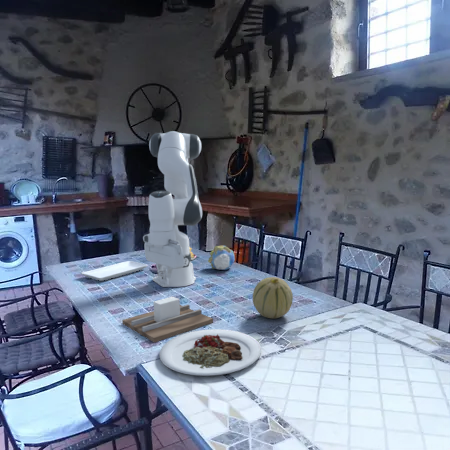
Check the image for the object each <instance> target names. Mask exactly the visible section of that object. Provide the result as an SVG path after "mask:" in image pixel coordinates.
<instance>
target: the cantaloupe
mask: <svg viewBox="0 0 450 450" xmlns="http://www.w3.org/2000/svg"><path fill="white" fill-rule="evenodd" d="M293 297H294V296H293V292H292V289H291V287H290V286H289V284H288V283H287V282H286V281H285V280H284V279H282V278H280V277H278V276H277V277H276V276H271V277H265V278H263V279H262V280H260V281H259V282H257V284H256V285H255V287H254V289H253V292H252V303H253V307H254V308H255V310H256V312H257V313H258V314H260V315H261V316H262V317H265V318H268V319H279V318H281V317H284V316H286V314H287V313H289V311H290V310H291V307H292V305H293V300H294V298H293Z"/></svg>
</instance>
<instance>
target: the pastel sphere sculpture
mask: <svg viewBox="0 0 450 450" xmlns="http://www.w3.org/2000/svg"><path fill="white" fill-rule="evenodd" d="M189 249H190V253H191V261H193V260H195V259H196V258H197V255H196V254H195V253H193V251H192V250H193V248H192V247H191V246H189Z"/></svg>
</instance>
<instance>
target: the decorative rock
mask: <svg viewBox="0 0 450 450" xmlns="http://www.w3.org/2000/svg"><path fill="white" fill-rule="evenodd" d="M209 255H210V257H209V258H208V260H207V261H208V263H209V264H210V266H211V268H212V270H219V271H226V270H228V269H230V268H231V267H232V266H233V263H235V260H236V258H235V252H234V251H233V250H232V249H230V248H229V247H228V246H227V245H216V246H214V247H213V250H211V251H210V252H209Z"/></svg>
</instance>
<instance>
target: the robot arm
mask: <svg viewBox="0 0 450 450" xmlns="http://www.w3.org/2000/svg"><path fill="white" fill-rule="evenodd" d="M150 137H151V138H150V140H149V142H148V143H149V144H148V146H149V151H150V154H151V155H152V157H155V158H157V166H158V169H159V171H160V172H161V173H162V174H163V177H164V178H163V181H164V182H163V183H164V185H163V186H164V189H165V190H156V191H153V192H151V193H150V194H149V196H148V198H149V199H148V220H149V224H150V225H149V233H148V234H144V235H143V237H142V239H143V242H144V246H143V247H144V255H145V259H146V261H148V262H151V263H154V264H155V266H156V268H157V271H156V273H157V274H156V276H155V277H153V278H152V281H153V282H155V283H156V284H158V285H159V286H160V287H162V288H169V287H173V288H177V287H178V288H179V287H186V286H190V285H194V283H195V281H196V280H197V277H196V276H195V272H194V265H193V263H192V262H191V261H192V260H191V253H190V249H189V247H190V239H189V236H188V235H187V234H186V233H184V232H183V231H180V229H179V226H192V227H194V226H196V225H197V224H198V223H199V222H201V220H202V218H203V207H202V204H201V202H200V199H199V192H198V185H197V184H198V183H197V179H196V178H197V177H196V174H195V170H194V167H193V165H192V164H190V163H189V161H193V160H195V159H197V158H198V157H199V156H200V153H201V151H202V141H201V139H200V137H199V136H198V135H197V134H194V133H185V132H183V133H182V132H178V131H173V130H172V131H171V130H170V131H167V132H165V133H163V132H158V133H157V132H156V133H154V134H152V135H151V136H150ZM172 195H173V196H174V198H173V196H172Z"/></svg>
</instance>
